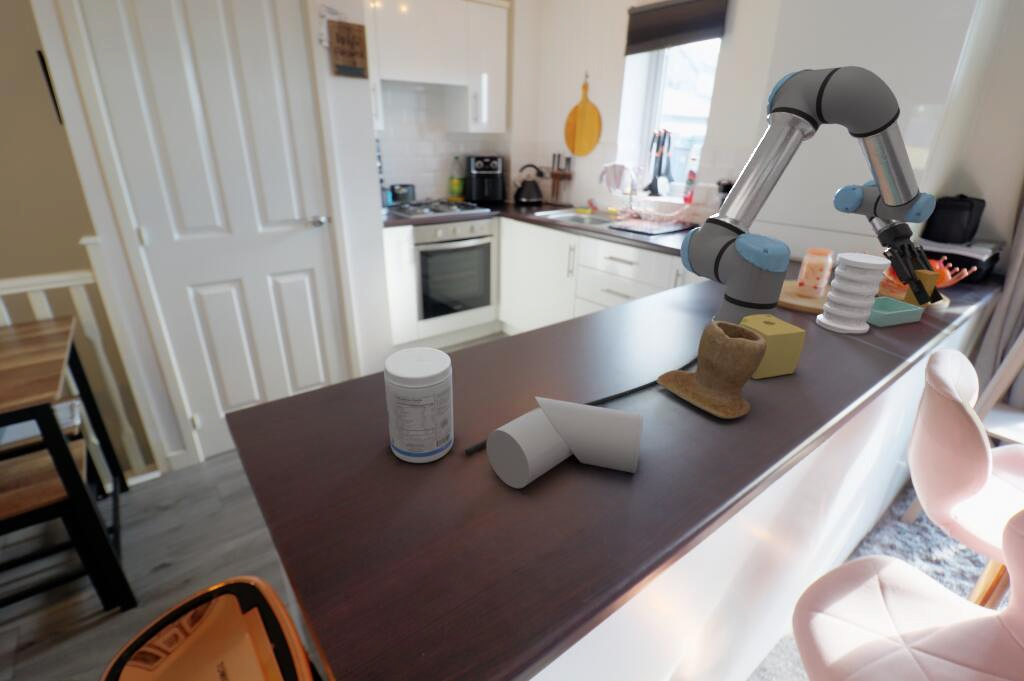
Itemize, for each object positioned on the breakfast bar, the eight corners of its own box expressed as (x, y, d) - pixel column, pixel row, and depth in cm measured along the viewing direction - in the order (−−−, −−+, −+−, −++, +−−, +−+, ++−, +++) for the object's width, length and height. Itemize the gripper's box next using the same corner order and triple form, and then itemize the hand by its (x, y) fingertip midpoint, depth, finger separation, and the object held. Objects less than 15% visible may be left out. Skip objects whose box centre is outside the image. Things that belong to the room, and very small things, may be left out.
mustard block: (915, 312, 133) (930, 274, 128) (900, 307, 136) (914, 270, 132) (924, 311, 134) (940, 273, 129) (909, 306, 137) (924, 269, 133)
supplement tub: (395, 428, 77) (388, 346, 71) (454, 426, 78) (452, 345, 72) (386, 468, 68) (377, 377, 62) (453, 465, 69) (451, 376, 63)
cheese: (719, 358, 104) (729, 316, 100) (759, 353, 107) (770, 311, 103) (755, 381, 95) (767, 335, 91) (797, 375, 98) (811, 330, 94)
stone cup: (764, 411, 85) (786, 334, 79) (721, 430, 79) (742, 348, 73) (694, 375, 97) (709, 305, 91) (653, 389, 91) (665, 316, 85)
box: (879, 328, 123) (884, 314, 122) (842, 314, 132) (847, 301, 130) (918, 322, 128) (924, 308, 127) (880, 309, 137) (885, 296, 135)
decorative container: (877, 336, 118) (903, 265, 111) (827, 332, 120) (849, 262, 112) (854, 319, 129) (877, 253, 121) (808, 316, 130) (828, 250, 123)
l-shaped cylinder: (564, 405, 82) (476, 454, 70) (580, 356, 77) (487, 400, 64) (649, 472, 73) (565, 544, 60) (675, 422, 67) (588, 489, 54)
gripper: (898, 235, 144) (937, 305, 137) (858, 238, 138) (896, 311, 131) (924, 220, 137) (966, 293, 130) (883, 222, 132) (924, 298, 124)
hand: (931, 302), depth 130 cm, fingers closed on mustard block, 4 cm apart
